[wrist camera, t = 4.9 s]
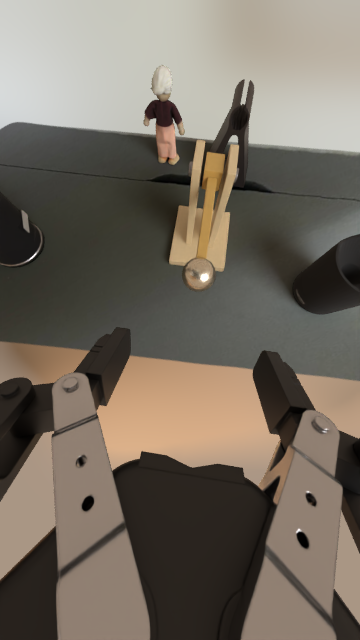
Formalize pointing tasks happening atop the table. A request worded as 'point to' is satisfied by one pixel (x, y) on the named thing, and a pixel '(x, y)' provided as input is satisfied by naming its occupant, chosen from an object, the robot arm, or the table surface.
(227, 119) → the phone stand
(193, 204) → the bracket
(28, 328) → the table surface
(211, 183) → the lever
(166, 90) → the grandmother figurine
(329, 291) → the pen holder
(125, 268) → the table surface
